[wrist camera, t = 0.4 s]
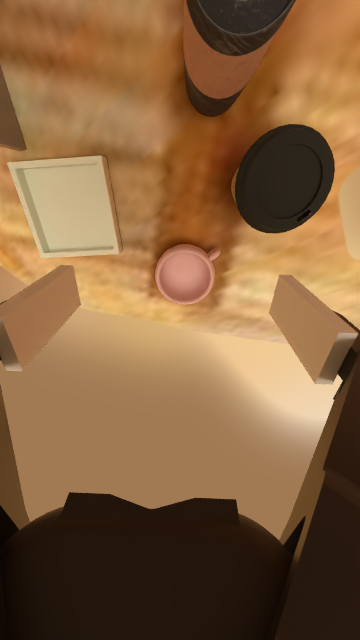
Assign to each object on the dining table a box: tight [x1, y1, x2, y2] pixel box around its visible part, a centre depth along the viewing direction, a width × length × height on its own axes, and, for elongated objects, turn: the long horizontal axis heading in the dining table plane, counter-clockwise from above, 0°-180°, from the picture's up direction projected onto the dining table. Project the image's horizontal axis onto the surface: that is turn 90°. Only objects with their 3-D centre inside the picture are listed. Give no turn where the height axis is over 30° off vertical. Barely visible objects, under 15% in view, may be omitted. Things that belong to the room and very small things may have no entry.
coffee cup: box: [231, 124, 335, 233], centre depth 29 cm, size 10×10×15 cm
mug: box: [155, 244, 221, 305], centre depth 40 cm, size 12×10×6 cm
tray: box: [7, 155, 123, 258], centre depth 37 cm, size 14×14×2 cm
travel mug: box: [183, 0, 296, 116], centre depth 21 cm, size 8×8×20 cm
